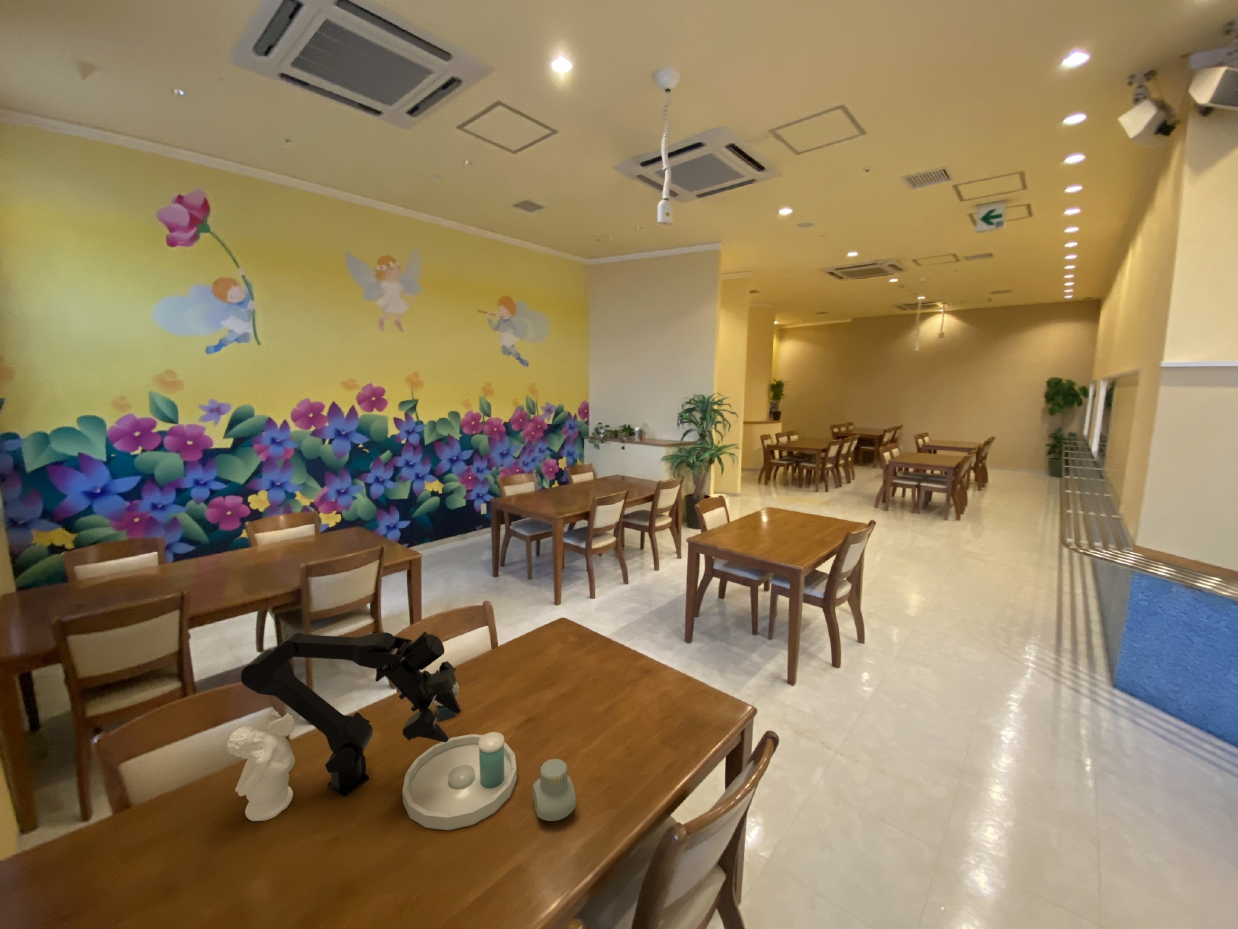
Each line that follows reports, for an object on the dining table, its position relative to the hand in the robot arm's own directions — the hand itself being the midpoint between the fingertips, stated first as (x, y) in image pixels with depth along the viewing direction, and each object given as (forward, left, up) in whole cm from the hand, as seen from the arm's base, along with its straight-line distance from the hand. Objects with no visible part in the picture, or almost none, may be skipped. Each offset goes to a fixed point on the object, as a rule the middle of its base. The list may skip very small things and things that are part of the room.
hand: (453, 726), depth 117 cm
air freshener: (+4, -26, -13) cm, 30 cm away
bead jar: (+3, -9, -12) cm, 15 cm away
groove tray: (-1, -3, -13) cm, 13 cm away
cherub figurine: (-25, +30, -13) cm, 41 cm away
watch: (+15, +20, -13) cm, 28 cm away
